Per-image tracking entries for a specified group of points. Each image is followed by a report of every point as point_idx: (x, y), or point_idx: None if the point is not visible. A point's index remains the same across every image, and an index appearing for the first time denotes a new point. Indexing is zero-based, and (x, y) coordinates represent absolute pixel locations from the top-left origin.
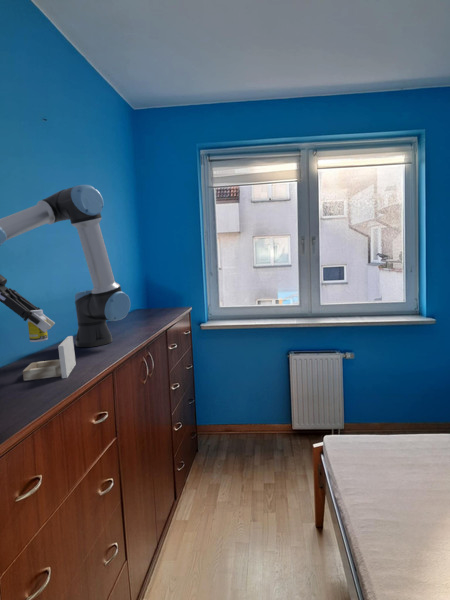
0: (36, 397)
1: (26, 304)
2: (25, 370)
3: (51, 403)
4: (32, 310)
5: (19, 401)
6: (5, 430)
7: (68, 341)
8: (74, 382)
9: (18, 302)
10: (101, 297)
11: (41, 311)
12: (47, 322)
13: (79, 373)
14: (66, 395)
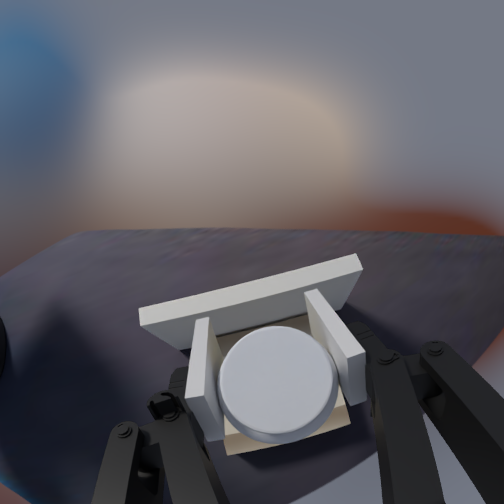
0: (467, 292)
1: (216, 492)
2: (342, 419)
3: (484, 244)
4: (258, 419)
5: (486, 315)
6: None
7: (243, 285)
8: (377, 258)
9: (434, 463)
10: None
11: (285, 328)
12: (215, 352)
13: None
14: (451, 236)
